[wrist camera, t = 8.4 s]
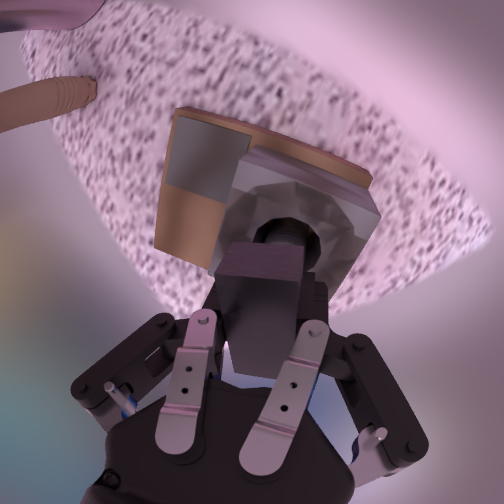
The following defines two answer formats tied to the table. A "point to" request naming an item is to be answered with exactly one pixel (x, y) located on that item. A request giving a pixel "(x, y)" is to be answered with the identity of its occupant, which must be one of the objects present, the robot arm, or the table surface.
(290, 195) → the peg insertion fixture
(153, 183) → the table surface
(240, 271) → the hammer
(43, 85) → the handle
